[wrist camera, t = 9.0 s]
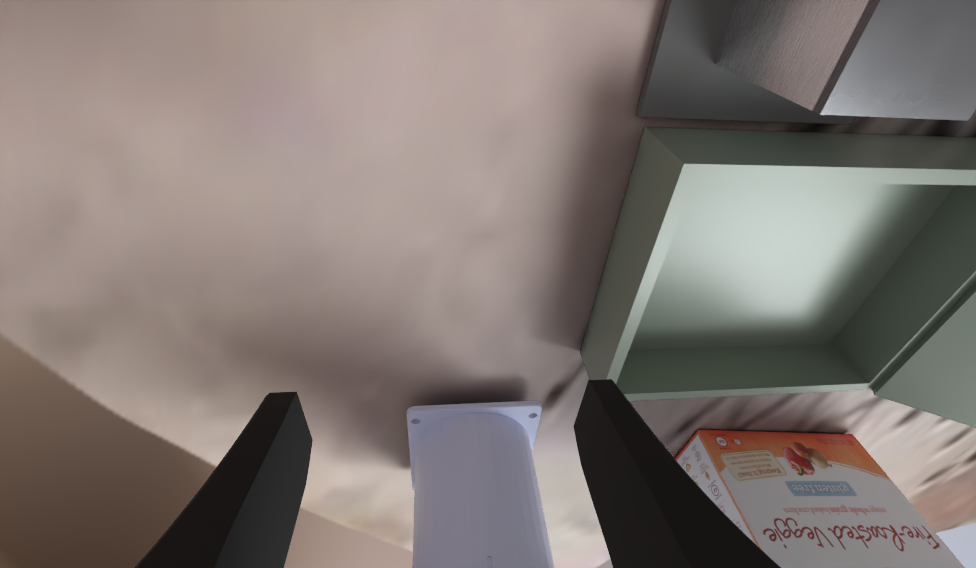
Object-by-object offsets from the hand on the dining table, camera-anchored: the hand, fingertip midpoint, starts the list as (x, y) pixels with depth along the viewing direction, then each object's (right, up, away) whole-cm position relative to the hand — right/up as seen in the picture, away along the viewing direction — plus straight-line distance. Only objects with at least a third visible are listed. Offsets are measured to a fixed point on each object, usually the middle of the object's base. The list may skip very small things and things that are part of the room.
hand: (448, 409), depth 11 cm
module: (+12, +13, +3) cm, 18 cm away
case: (+21, +4, +12) cm, 25 cm away
